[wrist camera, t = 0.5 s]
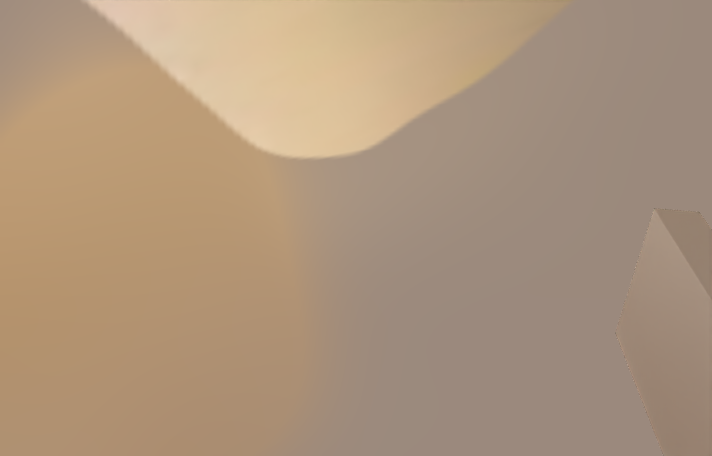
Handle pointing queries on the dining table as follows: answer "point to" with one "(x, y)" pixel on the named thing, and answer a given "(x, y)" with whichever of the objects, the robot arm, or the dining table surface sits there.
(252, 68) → the dining table surface
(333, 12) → the dining table surface
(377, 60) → the dining table surface
